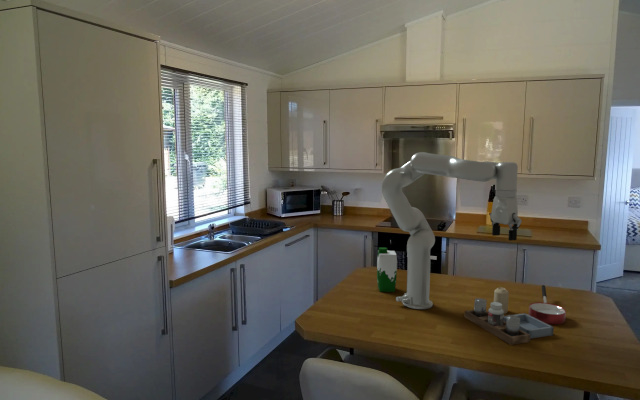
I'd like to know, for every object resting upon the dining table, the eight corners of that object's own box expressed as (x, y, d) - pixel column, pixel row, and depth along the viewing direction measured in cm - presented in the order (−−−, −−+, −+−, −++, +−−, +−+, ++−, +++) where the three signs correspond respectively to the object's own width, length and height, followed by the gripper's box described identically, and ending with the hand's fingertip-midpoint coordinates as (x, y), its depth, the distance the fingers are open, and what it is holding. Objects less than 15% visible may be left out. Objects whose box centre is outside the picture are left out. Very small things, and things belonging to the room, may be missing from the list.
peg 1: (478, 322, 175) (479, 302, 174) (471, 318, 179) (472, 298, 178) (487, 321, 176) (489, 301, 175) (480, 317, 180) (481, 297, 179)
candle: (508, 314, 183) (510, 290, 182) (494, 313, 185) (495, 289, 183) (506, 309, 189) (507, 286, 188) (492, 308, 190) (493, 285, 189)
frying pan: (520, 296, 206) (521, 282, 205) (552, 299, 202) (553, 285, 201) (531, 322, 175) (532, 307, 174) (568, 327, 171) (569, 311, 171)
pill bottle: (485, 328, 169) (486, 303, 168) (490, 324, 173) (491, 300, 172) (499, 332, 165) (501, 307, 164) (504, 328, 169) (506, 303, 168)
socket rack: (510, 344, 156) (511, 338, 155) (464, 316, 180) (464, 310, 180) (529, 341, 158) (530, 335, 158) (481, 314, 183) (481, 308, 182)
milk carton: (375, 286, 218) (376, 245, 215) (394, 286, 218) (395, 246, 215) (377, 292, 209) (378, 250, 207) (397, 292, 209) (398, 250, 206)
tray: (528, 338, 160) (529, 330, 160) (501, 323, 174) (502, 316, 173) (553, 335, 164) (553, 327, 163) (524, 320, 177) (525, 313, 177)
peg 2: (511, 342, 158) (512, 320, 157) (502, 336, 162) (503, 315, 161) (521, 340, 159) (522, 318, 158) (512, 335, 163) (513, 314, 162)
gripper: (483, 192, 181) (482, 234, 183) (512, 196, 165) (510, 242, 167) (499, 191, 183) (497, 233, 185) (530, 196, 167) (527, 241, 169)
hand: (504, 237), depth 176 cm, fingers open, 9 cm apart
